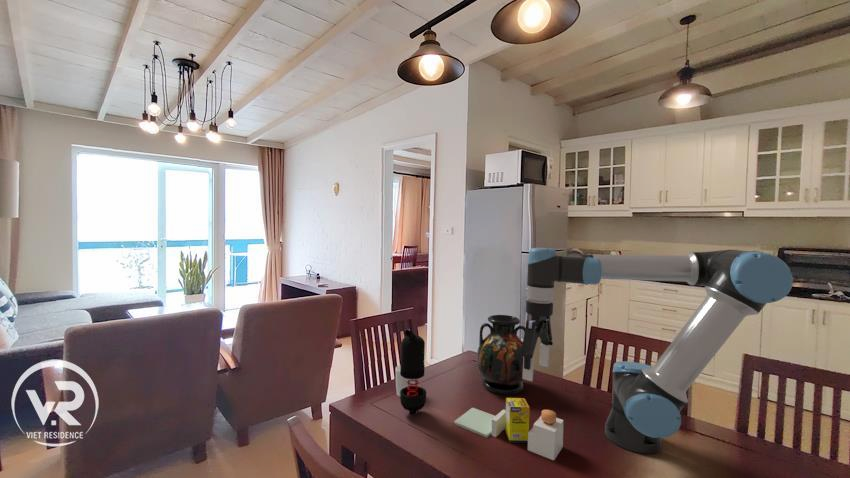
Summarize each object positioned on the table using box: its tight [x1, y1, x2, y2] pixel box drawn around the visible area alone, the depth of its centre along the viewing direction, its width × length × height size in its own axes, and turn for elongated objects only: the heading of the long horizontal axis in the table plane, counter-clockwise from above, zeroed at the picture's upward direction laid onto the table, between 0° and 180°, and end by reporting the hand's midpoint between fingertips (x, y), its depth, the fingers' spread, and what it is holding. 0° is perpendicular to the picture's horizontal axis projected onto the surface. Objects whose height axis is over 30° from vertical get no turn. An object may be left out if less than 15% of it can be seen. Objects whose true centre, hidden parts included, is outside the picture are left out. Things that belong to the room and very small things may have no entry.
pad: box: [453, 407, 496, 439], centre depth 116 cm, size 12×12×1 cm
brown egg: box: [540, 409, 557, 425], centre depth 103 cm, size 4×4×6 cm
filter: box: [399, 329, 427, 416], centre depth 123 cm, size 14×9×30 cm
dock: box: [490, 409, 564, 461], centre depth 107 cm, size 19×8×8 cm, turn 52°
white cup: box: [394, 364, 415, 398], centre depth 136 cm, size 8×8×10 cm
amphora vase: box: [475, 314, 528, 395], centre depth 144 cm, size 22×22×28 cm
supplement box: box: [504, 397, 531, 444], centre depth 108 cm, size 6×6×11 cm
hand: (536, 372), depth 104 cm, fingers open, 13 cm apart
